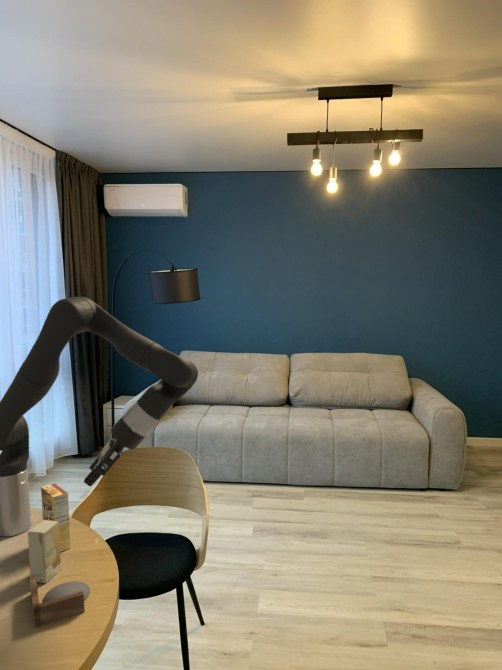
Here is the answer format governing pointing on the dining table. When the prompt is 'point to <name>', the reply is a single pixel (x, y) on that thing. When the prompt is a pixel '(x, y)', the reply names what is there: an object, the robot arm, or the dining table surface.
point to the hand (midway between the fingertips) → (89, 476)
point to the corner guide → (54, 606)
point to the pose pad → (67, 590)
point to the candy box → (57, 511)
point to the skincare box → (44, 550)
